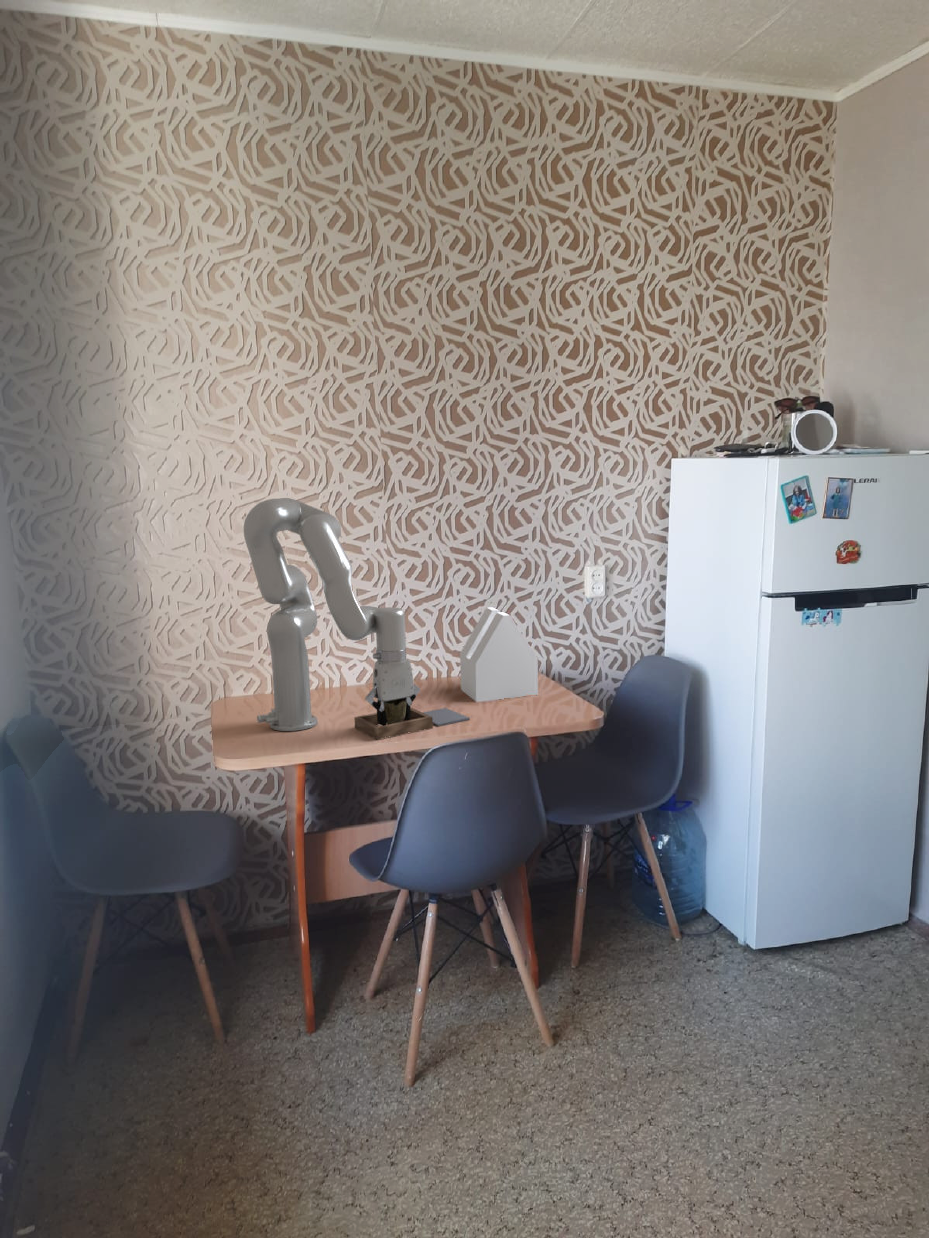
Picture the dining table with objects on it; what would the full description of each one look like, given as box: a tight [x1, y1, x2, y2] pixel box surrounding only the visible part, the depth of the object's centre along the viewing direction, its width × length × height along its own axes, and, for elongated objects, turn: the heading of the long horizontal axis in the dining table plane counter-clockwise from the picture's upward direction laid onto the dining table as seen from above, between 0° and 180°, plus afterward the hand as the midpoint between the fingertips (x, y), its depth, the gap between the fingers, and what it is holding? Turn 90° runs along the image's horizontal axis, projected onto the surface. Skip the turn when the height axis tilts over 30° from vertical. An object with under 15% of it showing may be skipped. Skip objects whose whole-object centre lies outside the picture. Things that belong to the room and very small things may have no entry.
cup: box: [379, 698, 407, 725], centre depth 221 cm, size 8×7×8 cm
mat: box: [421, 707, 470, 728], centre depth 230 cm, size 10×12×1 cm
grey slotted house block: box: [459, 606, 539, 703], centre depth 253 cm, size 19×15×25 cm
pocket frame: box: [354, 706, 434, 740], centre depth 221 cm, size 16×12×3 cm
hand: (394, 721), depth 221 cm, fingers closed on cup, 6 cm apart
